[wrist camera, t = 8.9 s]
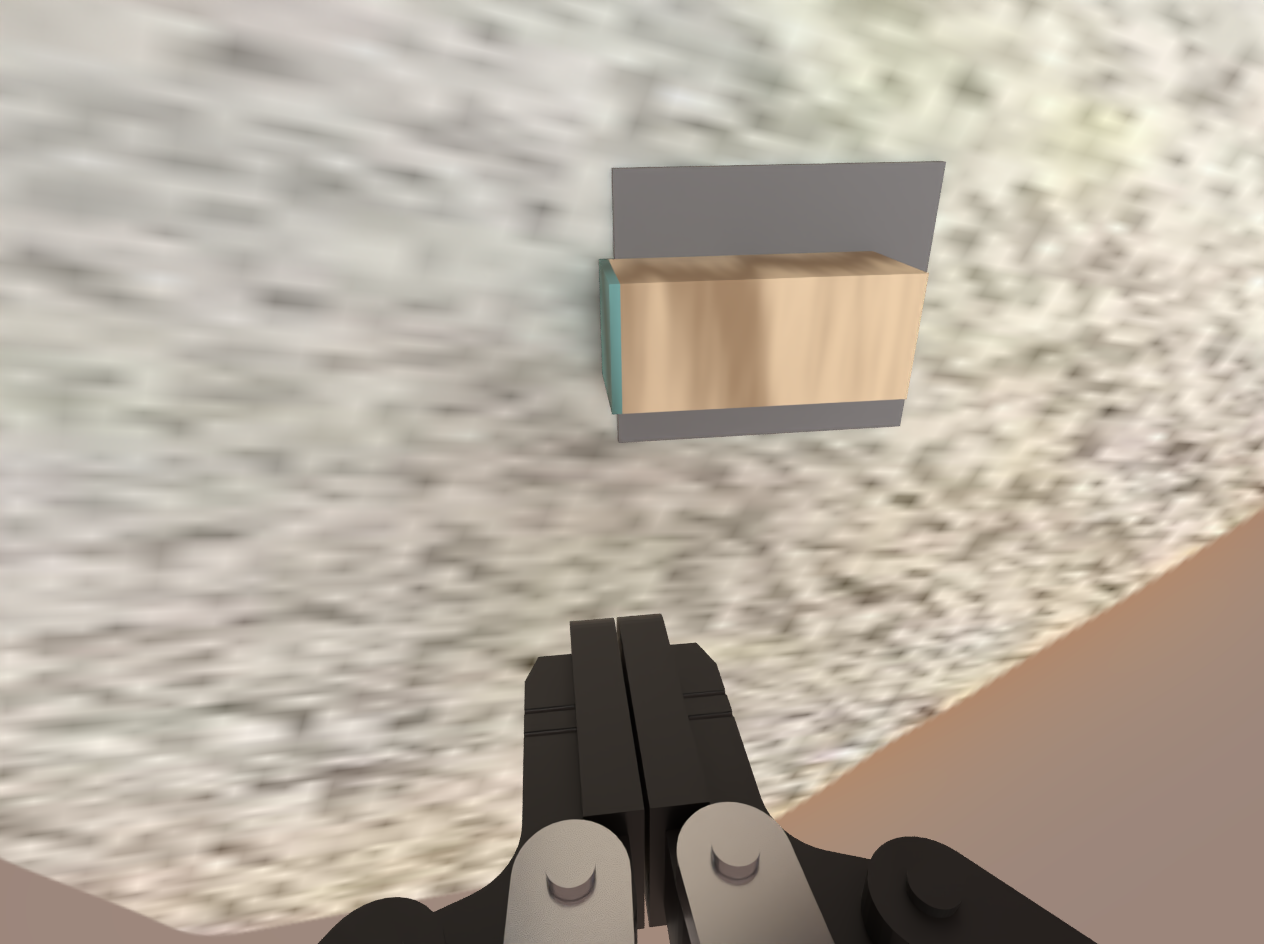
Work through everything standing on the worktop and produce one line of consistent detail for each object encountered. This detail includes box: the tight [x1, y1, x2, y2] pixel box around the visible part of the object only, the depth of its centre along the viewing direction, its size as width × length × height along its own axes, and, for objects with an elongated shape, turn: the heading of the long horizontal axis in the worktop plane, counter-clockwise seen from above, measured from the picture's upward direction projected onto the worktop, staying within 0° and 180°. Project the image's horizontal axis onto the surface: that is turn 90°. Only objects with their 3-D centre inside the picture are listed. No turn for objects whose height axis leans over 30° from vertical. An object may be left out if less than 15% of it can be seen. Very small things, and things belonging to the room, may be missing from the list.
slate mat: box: [612, 161, 946, 443], centre depth 31 cm, size 14×12×1 cm
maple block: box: [599, 251, 929, 414], centre depth 29 cm, size 5×5×12 cm
